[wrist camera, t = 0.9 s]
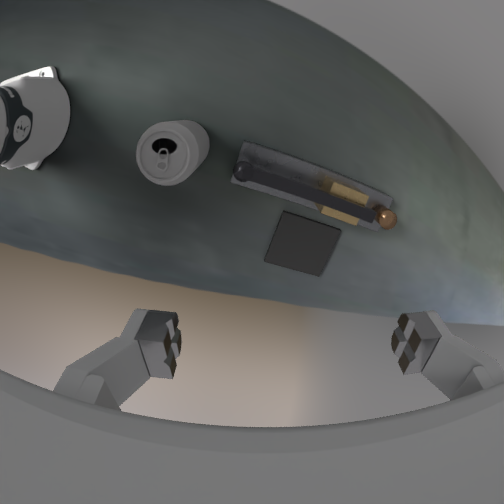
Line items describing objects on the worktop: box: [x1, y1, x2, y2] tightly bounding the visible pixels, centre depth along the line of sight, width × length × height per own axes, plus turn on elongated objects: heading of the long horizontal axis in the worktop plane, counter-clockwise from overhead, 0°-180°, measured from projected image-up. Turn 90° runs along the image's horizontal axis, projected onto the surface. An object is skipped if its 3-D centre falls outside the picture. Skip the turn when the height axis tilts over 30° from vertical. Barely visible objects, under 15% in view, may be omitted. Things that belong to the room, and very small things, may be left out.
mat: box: [264, 211, 341, 276], centre depth 46 cm, size 10×9×1 cm
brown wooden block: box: [315, 176, 369, 226], centre depth 38 cm, size 6×4×4 cm
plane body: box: [230, 140, 397, 232], centre depth 39 cm, size 24×6×7 cm, turn 72°
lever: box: [233, 161, 377, 223], centre depth 34 cm, size 19×2×1 cm, turn 72°
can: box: [136, 120, 210, 186], centre depth 33 cm, size 8×8×12 cm
